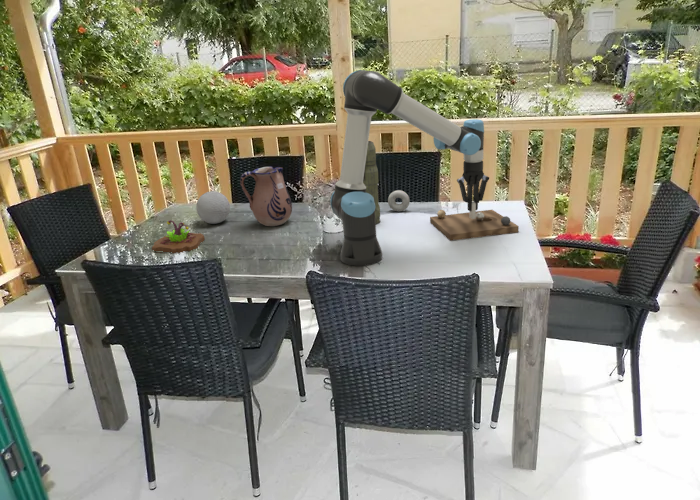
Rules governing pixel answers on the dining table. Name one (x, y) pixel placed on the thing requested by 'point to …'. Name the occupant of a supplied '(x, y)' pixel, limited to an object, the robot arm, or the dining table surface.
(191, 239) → the plant
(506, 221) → the black rubber ball
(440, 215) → the beech ball
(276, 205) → the ceramic pitcher
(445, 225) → the walnut plate
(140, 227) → the dining table surface
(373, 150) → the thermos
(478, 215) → the steel ball
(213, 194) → the decorative ball
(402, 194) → the donut
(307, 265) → the dining table surface
